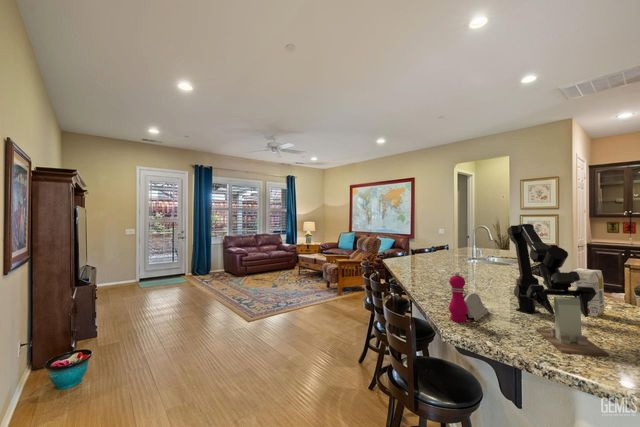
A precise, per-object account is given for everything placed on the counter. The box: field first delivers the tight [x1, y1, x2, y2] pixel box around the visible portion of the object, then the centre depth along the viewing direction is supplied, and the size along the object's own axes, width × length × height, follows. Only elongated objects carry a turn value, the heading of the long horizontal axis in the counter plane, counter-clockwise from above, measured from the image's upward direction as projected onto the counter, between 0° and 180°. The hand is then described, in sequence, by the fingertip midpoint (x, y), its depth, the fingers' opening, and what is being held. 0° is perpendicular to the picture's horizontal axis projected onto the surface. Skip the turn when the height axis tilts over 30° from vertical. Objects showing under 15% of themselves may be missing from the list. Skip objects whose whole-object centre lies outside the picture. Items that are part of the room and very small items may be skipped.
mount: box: [535, 327, 610, 358], centre depth 97 cm, size 18×12×3 cm, turn 164°
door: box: [553, 295, 583, 342], centre depth 97 cm, size 3×6×14 cm, turn 74°
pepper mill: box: [448, 271, 468, 323], centre depth 120 cm, size 7×7×20 cm
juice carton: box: [572, 267, 605, 318], centre depth 124 cm, size 8×9×19 cm
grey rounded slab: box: [463, 292, 489, 322], centre depth 127 cm, size 17×5×10 cm, turn 133°
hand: (569, 315), depth 95 cm, fingers open, 9 cm apart
